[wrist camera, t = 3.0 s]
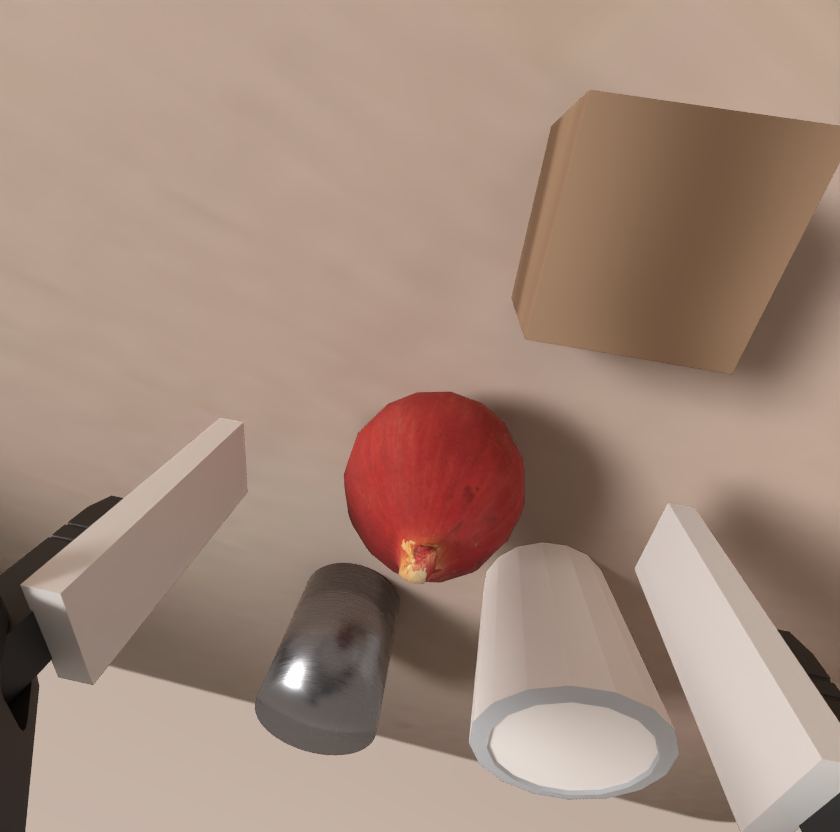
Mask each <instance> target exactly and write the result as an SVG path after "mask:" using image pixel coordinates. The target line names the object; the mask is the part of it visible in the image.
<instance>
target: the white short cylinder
mask: <svg viewBox="0 0 840 832" xmlns="http://www.w3.org/2000/svg"><path fill="white" fill-rule="evenodd" d="M469 744H470V746H471V748H472V750H473V752H474V754H475V756H476V758H477V760H478V762H479V764H481V765H482V766H483V767H484V768H486V769H487V770H488V771H490V772H491V773H492V774H493V775H495V776H496V777H497V778H499V779H500V780H501V781H503V782H506V783H508V784H511V785H513V786H516V787H518V788H521V789H523V790H526V791H528V792H531V793H534V794H540V795H546V796H552V797H558V798H563V799H604V798H605V799H606V798H610V797H614V796H619V795H623V794H627V793H631V792H635V791H639V790H642V789H643V788H645V787H647V786H648V785H650V784H652V783H653V782H655V781H657V780H658V779H660V778H662V777H663V776H665V775H667V773H668V771H669V770H670V768H671V766H672V765H673V763H674V762H675V760H676V758H677V757H678V755H679V750H678V744H677V738H676V732H675V729H674V727H673V725H672V722H671V720H670V718H669V716H668V714H667V712H666V709H665V707H664V705H663V703H662V701H661V699H660V696H659V694H658V692H657V690H656V688H655V686H654V684H653V681H652V679H651V677H650V675H649V673H648V671H647V668H646V666H645V664H644V662H643V660H642V658H641V655H640V653H639V651H638V649H637V647H636V645H635V642H634V640H633V638H632V636H631V634H630V632H629V630H628V627H627V625H626V623H625V621H624V619H623V617H622V614H621V612H620V610H619V608H618V606H617V604H616V601H615V599H614V597H613V595H612V593H611V591H610V589H609V586H608V584H607V582H606V580H605V578H604V576H603V573H602V571H601V569H600V568H599V567H598V566H597V565H596V564H595V563H594V562H593V561H592V560H591V558H590V557H589V556H588V555H586V554H584V553H582V552H580V551H578V550H575V549H573V548H571V547H569V546H567V545H559V544H551V543H543V542H541V543H535V544H529V545H523V546H518V547H516V548H514V549H512V550H510V551H508V552H506V553H505V554H503V555H501V556H499V557H498V558H497V559H496V560H495V562H494V563H493V564H492V565H491V567H490V568H489V569H488V570H487V572H486V578H485V584H484V591H483V602H482V612H481V622H480V633H479V643H478V653H477V664H476V674H475V685H474V695H473V705H472V716H471V726H470V736H469Z"/></svg>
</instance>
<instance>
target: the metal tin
mask: <svg viewBox="0 0 840 832" xmlns="http://www.w3.org/2000/svg"><path fill="white" fill-rule="evenodd" d="M399 608H400V600H399V596H398V593H397V591H396V589H395V588H394V586H393V585H392V584H391V583H390V582H389V581H388V580H387V579H386V578H385V577H384V576H382V575H381V574H379V573H378V572H376V571H374V570H372V569H370V568H367V567H364V566H361V565H357V564H351V563H337V564H331V565H327V566H325V567H322V568H320V569H319V570H317V571H316V572H315V573H314V574H313V575H312V576H311V577H310V579H309V581H308V583H307V585H306V587H305V590H304V592H303V594H302V596H301V599H300V601H299V603H298V606H297V608H296V610H295V612H294V615H293V617H292V619H291V622H290V624H289V626H288V628H287V631H286V633H285V635H284V638H283V640H282V642H281V644H280V647H279V649H278V651H277V654H276V656H275V658H274V660H273V663H272V665H271V667H270V669H269V672H268V674H267V676H266V679H265V681H264V683H263V685H262V688H261V690H260V692H259V695H258V697H257V699H256V702H255V711H256V714H257V717H258V719H259V721H260V722H261V724H262V725H263V726H264V727H265V728H266V729H267V730H268V731H269V732H270V733H271V734H272V735H274V736H275V737H277V738H278V739H280V740H281V741H283V742H285V743H287V744H289V745H291V746H293V747H296V748H298V749H301V750H304V751H309V752H312V753H317V754H324V755H344V754H351V753H355V752H358V751H360V750H362V749H364V748H366V747H367V746H368V745H370V743H372V741H373V740H374V738H375V735H376V730H377V725H378V719H379V714H380V709H381V704H382V698H383V693H384V688H385V682H386V677H387V672H388V666H389V661H390V656H391V650H392V645H393V640H394V634H395V629H396V624H397V618H398V613H399Z"/></svg>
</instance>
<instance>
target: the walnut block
mask: <svg viewBox="0 0 840 832" xmlns="http://www.w3.org/2000/svg"><path fill="white" fill-rule="evenodd" d="M839 163H840V126H838V125H831V124H824V123H817V122H810V121H803V120H796V119H789V118H782V117H775V116H768V115H761V114H754V113H747V112H740V111H733V110H726V109H719V108H713V107H706V106H699V105H692V104H685V103H678V102H671V101H664V100H657V99H650V98H643V97H636V96H629V95H622V94H615V93H608V92H601V91H594V90H589V91H588V92H587V93H586V94H585V95H584V96H583V97H582V98H581V99H580V100H579V101H578V102H576V103H575V104H574V105H573V106H572V107H571V108H570V109H569V110H568V111H567V112H566V113H565V114H564V115H563V116H562V117H561V118H560V119H559V120H557V121H556V122H555V123H554V124H553V125H552V126H551V130H550V135H549V139H548V143H547V147H546V152H545V156H544V160H543V165H542V169H541V173H540V177H539V182H538V186H537V190H536V195H535V199H534V203H533V207H532V212H531V216H530V220H529V225H528V229H527V233H526V237H525V242H524V246H523V250H522V255H521V259H520V263H519V267H518V272H517V276H516V280H515V285H514V289H513V293H512V297H511V298H512V301H513V304H514V307H515V310H516V313H517V316H518V319H519V322H520V325H521V328H522V331H523V334H524V337H525V339H526V340H532V341H538V342H544V343H550V344H556V345H562V346H568V347H574V348H580V349H586V350H592V351H597V352H603V353H609V354H615V355H621V356H627V357H633V358H639V359H645V360H651V361H657V362H662V363H668V364H674V365H680V366H686V367H692V368H698V369H704V370H710V371H716V372H722V373H728V374H732V373H733V371H734V369H735V367H736V365H737V363H738V361H739V359H740V357H741V355H742V353H743V351H744V349H745V347H746V345H747V344H748V342H749V340H750V338H751V336H752V334H753V332H754V330H755V328H756V326H757V324H758V322H759V320H760V318H761V316H762V314H763V312H764V310H765V308H766V306H767V304H768V302H769V300H770V298H771V296H772V294H773V292H774V290H775V289H776V287H777V285H778V283H779V281H780V279H781V277H782V275H783V273H784V271H785V269H786V267H787V265H788V263H789V261H790V259H791V257H792V255H793V253H794V251H795V249H796V247H797V245H798V243H799V241H800V239H801V237H802V235H803V233H804V232H805V230H806V228H807V226H808V224H809V222H810V220H811V218H812V216H813V214H814V212H815V210H816V208H817V206H818V204H819V202H820V200H821V198H822V196H823V194H824V192H825V190H826V188H827V186H828V184H829V182H830V180H831V178H832V176H833V175H834V173H835V171H836V169H837V167H838V165H839Z"/></svg>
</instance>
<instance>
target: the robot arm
mask: <svg viewBox="0 0 840 832" xmlns="http://www.w3.org/2000/svg"><path fill="white" fill-rule="evenodd" d="M247 492H248V490H247V473H246V456H245V439H244V422H241V421H236V420H230V419H225V418H219V419H218V420H217V421H215V422H214V423H213V424H212V425H211V426H209V427H208V428H207V429H206V430H205V431H203V432H202V433H201V434H200V435H199V436H197V437H196V438H195V439H194V440H193V441H191V442H190V443H189V444H188V445H187V446H185V447H184V448H183V449H182V450H181V451H179V452H178V453H177V454H176V455H175V456H174V457H172V458H171V459H170V460H169V461H168V462H166V463H165V464H164V465H163V466H162V467H160V468H159V469H158V470H157V471H156V472H154V473H153V474H152V475H151V476H150V477H148V478H147V479H146V480H145V481H144V482H142V483H141V484H140V485H139V486H138V487H136V488H135V489H134V490H133V491H132V492H131V493H129V494H128V495H127V496H126V497H125V498H120V497H115V496H110V497H108V498H106V499H104V500H101V501H99V502H97V503H95V504H93V505H91V506H89V507H87V508H86V509H84V510H83V511H82V512H80V513H79V514H78V515H77V516H75V517H74V518H73V519H72V520H70V521H69V522H68V525H64V526H63V527H61V528H60V529H59V530H57V531H56V532H55V533H54V534H53V536H52V537H51V538H47V539H46V540H45V541H43V542H42V543H41V544H40V545H38V546H37V547H36V548H34V549H33V550H32V551H31V552H29V553H28V554H27V555H26V556H24V557H23V558H22V559H20V560H19V561H18V562H17V563H15V564H14V565H13V566H12V567H10V568H9V569H8V570H6V571H5V572H4V573H3V574H1V575H0V832H25V827H26V817H27V807H28V796H29V785H30V775H31V766H32V755H33V745H34V734H35V724H36V714H37V703H38V693H39V683H38V678H37V675H38V673H39V672H40V671H41V670H42V669H43V668H44V667H45V666H46V665H47V664H48V663H49V662H50V660H51V661H52V663H53V665H54V668H55V670H56V673H57V675H58V677H60V678H64V679H69V680H73V681H78V682H82V683H87V684H91V685H93V684H94V683H95V682H96V681H97V680H98V678H99V677H100V676H101V675H102V673H103V672H104V671H105V670H106V668H107V667H108V666H109V665H110V663H111V662H112V661H113V660H114V658H115V657H116V656H117V655H118V653H119V652H120V651H121V650H122V648H123V647H124V646H125V645H126V643H127V642H128V641H129V640H130V638H131V637H132V636H133V635H134V633H135V632H136V631H137V630H138V628H139V627H140V626H141V625H142V623H143V622H144V621H145V620H146V618H147V617H148V616H149V615H150V613H151V612H152V611H153V610H154V608H155V607H156V606H157V605H158V603H159V602H160V601H161V600H162V598H163V597H164V596H165V595H166V593H167V592H168V591H169V590H170V588H171V587H172V586H173V585H174V583H175V582H176V581H177V580H178V578H179V577H180V576H181V575H182V573H183V572H184V571H185V570H186V568H187V567H188V566H189V565H190V563H191V562H192V561H193V560H194V558H195V557H196V556H197V555H198V553H199V552H200V551H201V550H202V548H203V547H204V546H205V545H206V543H207V542H208V541H209V540H210V538H211V537H212V536H213V535H214V533H215V532H216V531H217V530H218V528H219V527H220V526H221V525H222V523H223V522H224V521H225V520H226V518H227V517H228V516H229V515H230V513H231V512H232V511H233V510H234V508H235V507H236V506H237V505H238V503H239V502H240V501H241V500H242V498H243V497H244V496H245V495H246V493H247ZM635 572H636V574H637V577H638V579H639V582H640V584H641V587H642V589H643V592H644V594H645V597H646V599H647V602H648V604H649V607H650V609H651V612H652V614H653V617H654V619H655V621H656V624H657V626H658V629H659V631H660V634H661V636H662V639H663V641H664V644H665V646H666V649H667V651H668V654H669V656H670V659H671V661H672V664H673V666H674V669H675V671H676V674H677V676H678V679H679V681H680V684H681V686H682V688H683V691H684V693H685V696H686V698H687V701H688V703H689V706H690V708H691V711H692V713H693V716H694V718H695V721H696V723H697V726H698V728H699V731H700V733H701V736H702V738H703V741H704V743H705V746H706V748H707V750H708V753H709V755H710V758H711V760H712V763H713V765H714V768H715V770H716V773H717V775H718V778H719V780H720V783H721V785H722V788H723V790H724V793H725V795H726V798H727V800H728V803H729V805H730V808H731V810H732V813H733V815H734V817H735V820H736V822H737V825H738V827H739V830H740V832H795V831H796V830H797V829H799V828H800V829H801V831H802V832H840V691H839V690H838V688H837V687H836V685H835V684H834V683H831V682H830V679H831V678H830V677H829V676H828V674H827V673H826V672H825V670H824V669H823V667H822V666H821V665H820V663H819V662H818V660H817V659H816V658H815V656H814V655H813V654H812V653H811V652H810V651H809V650H808V649H807V648H806V647H805V646H804V645H803V644H802V643H801V642H799V641H798V640H797V639H796V638H795V637H794V636H793V635H792V634H791V633H790V632H787V631H782V630H778V629H776V628H775V626H774V625H773V623H772V622H771V620H770V619H769V617H768V616H767V614H766V613H765V611H764V610H763V608H762V607H761V605H760V604H759V602H758V601H757V599H756V598H755V596H754V595H753V594H752V592H751V591H750V589H749V588H748V586H747V585H746V583H745V582H744V580H743V579H742V577H741V576H740V574H739V573H738V571H737V570H736V568H735V567H734V565H733V564H732V562H731V561H730V560H729V558H728V557H727V555H726V554H725V552H724V551H723V549H722V548H721V546H720V545H719V543H718V542H717V540H716V539H715V537H714V536H713V534H712V533H711V531H710V530H709V528H708V527H707V525H706V524H705V523H704V521H703V520H702V518H701V517H700V515H699V514H698V512H697V511H696V509H695V508H694V507H688V506H683V505H678V504H673V503H668V504H667V506H666V508H665V510H664V512H663V514H662V516H661V518H660V520H659V522H658V524H657V526H656V528H655V530H654V531H653V533H652V535H651V537H650V539H649V541H648V543H647V545H646V547H645V549H644V551H643V553H642V555H641V557H640V559H639V561H638V563H637V565H636V567H635Z"/></svg>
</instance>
